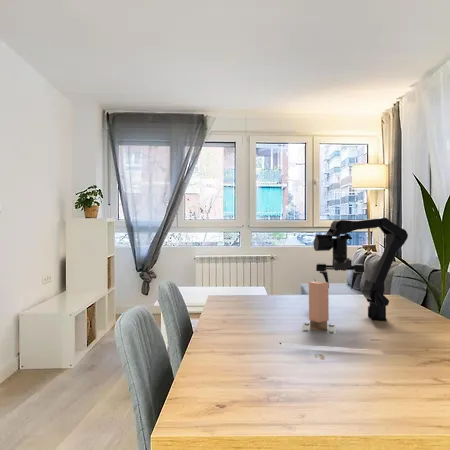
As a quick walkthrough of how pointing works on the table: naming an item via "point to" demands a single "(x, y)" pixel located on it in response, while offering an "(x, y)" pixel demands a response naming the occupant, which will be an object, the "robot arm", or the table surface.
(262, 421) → the table surface
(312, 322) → the short brick
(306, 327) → the baseplate
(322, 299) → the tall brick
